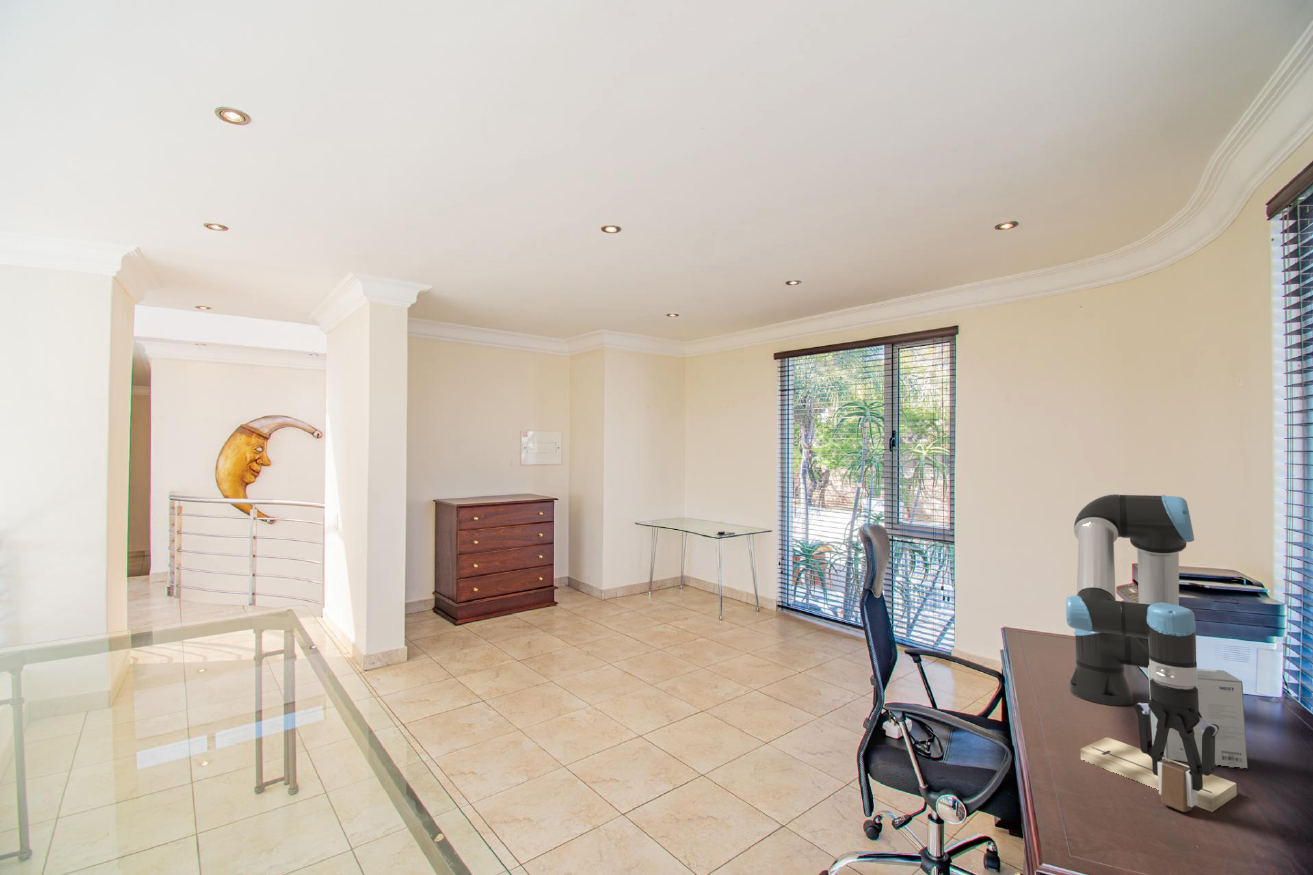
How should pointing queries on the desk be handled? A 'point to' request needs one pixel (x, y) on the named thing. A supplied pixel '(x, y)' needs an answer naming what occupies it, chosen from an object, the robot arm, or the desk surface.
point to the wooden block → (1174, 786)
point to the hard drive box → (1214, 719)
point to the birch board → (1140, 769)
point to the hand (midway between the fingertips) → (1177, 798)
